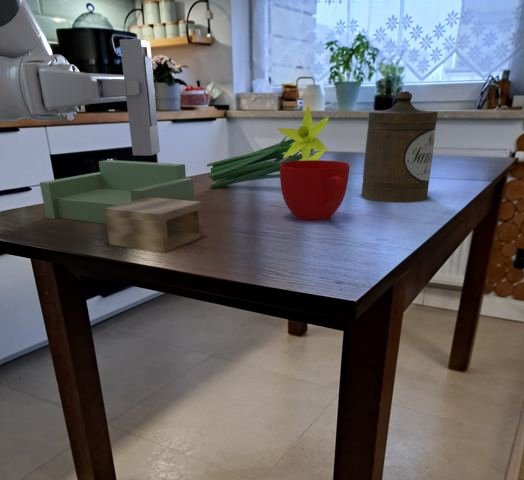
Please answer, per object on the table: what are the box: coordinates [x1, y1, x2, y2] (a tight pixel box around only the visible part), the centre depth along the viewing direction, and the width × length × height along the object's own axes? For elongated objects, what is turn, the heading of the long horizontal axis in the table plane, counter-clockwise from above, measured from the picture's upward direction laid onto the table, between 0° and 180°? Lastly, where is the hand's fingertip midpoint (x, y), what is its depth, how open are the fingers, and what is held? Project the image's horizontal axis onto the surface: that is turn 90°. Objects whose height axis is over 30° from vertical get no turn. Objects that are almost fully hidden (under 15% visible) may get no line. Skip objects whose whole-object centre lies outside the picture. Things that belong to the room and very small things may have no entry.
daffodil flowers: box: [206, 105, 330, 190], centre depth 127 cm, size 17×15×35 cm
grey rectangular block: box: [119, 38, 161, 156], centre depth 76 cm, size 3×4×15 cm
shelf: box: [104, 197, 204, 253], centre depth 84 cm, size 11×11×6 cm
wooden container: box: [361, 91, 438, 203], centre depth 115 cm, size 15×15×22 cm
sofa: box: [39, 159, 196, 224], centre depth 102 cm, size 25×17×10 cm
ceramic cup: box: [279, 159, 350, 222], centre depth 97 cm, size 13×17×10 cm
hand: (145, 87), depth 75 cm, fingers closed on grey rectangular block, 4 cm apart
